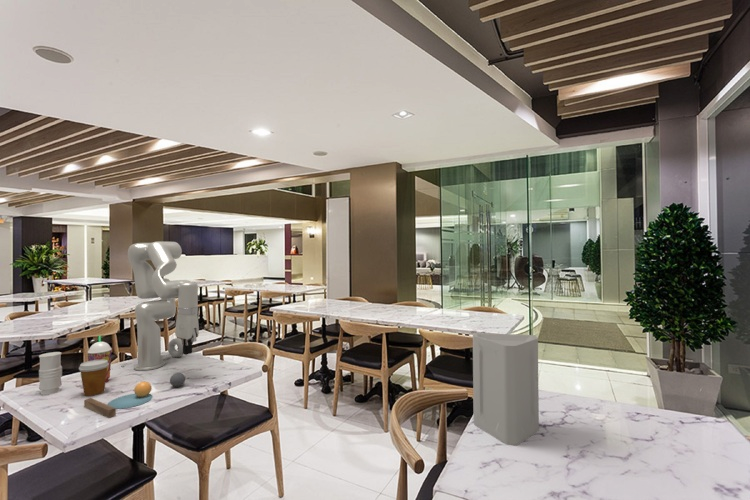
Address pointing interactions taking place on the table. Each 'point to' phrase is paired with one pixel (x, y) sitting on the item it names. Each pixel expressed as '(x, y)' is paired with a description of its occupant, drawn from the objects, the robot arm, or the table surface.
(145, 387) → the object ball
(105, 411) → the wall
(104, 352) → the smoothie
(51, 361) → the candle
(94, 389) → the disposable coffee cup
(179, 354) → the donut
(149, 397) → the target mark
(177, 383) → the grey ball
